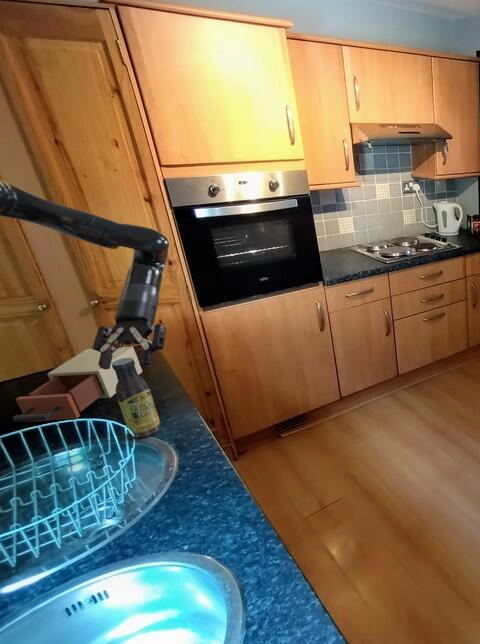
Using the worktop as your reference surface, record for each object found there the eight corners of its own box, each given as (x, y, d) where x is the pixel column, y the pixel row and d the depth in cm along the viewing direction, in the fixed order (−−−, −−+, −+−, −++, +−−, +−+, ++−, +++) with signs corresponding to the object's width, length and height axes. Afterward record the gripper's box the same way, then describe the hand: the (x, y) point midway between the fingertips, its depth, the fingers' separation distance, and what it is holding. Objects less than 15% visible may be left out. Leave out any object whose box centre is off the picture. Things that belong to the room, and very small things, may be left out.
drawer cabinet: (110, 397, 127) (98, 370, 124) (59, 401, 126) (46, 373, 122) (142, 371, 140) (133, 346, 137) (97, 374, 139) (86, 348, 135)
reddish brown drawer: (62, 430, 112) (50, 407, 109) (9, 434, 111) (-4, 410, 108) (112, 390, 129) (104, 369, 126) (68, 393, 128) (58, 372, 125)
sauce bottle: (142, 441, 110) (113, 370, 102) (125, 436, 111) (95, 366, 104) (169, 426, 115) (143, 358, 107) (152, 421, 117) (126, 353, 109)
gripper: (95, 300, 108) (78, 365, 102) (159, 297, 110) (146, 361, 104) (118, 312, 115) (102, 373, 109) (178, 309, 117) (166, 369, 111)
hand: (124, 367), depth 107 cm, fingers open, 8 cm apart
